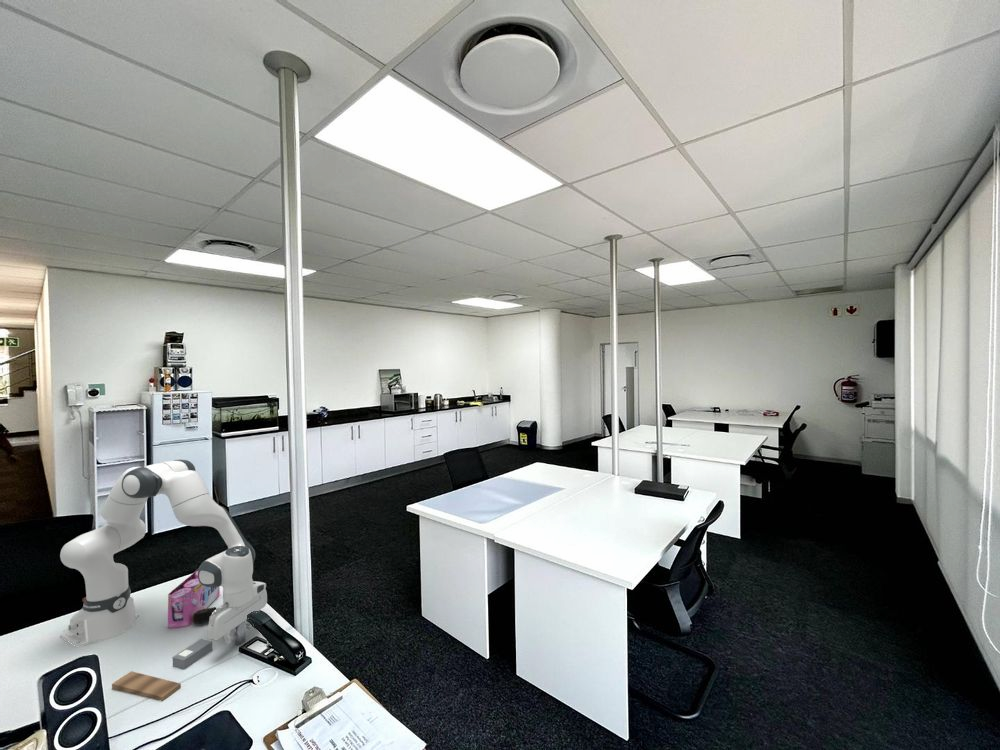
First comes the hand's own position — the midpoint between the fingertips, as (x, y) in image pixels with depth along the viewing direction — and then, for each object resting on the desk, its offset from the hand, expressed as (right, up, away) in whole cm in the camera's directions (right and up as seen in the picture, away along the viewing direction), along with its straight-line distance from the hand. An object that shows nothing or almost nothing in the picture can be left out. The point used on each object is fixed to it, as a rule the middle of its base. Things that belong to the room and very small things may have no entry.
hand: (239, 634), depth 137 cm
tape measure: (-18, -3, +12) cm, 22 cm away
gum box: (-30, -4, +19) cm, 36 cm away
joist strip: (-15, -4, -20) cm, 25 cm away
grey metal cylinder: (0, -3, 0) cm, 3 cm away
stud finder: (-10, -4, -7) cm, 13 cm away
